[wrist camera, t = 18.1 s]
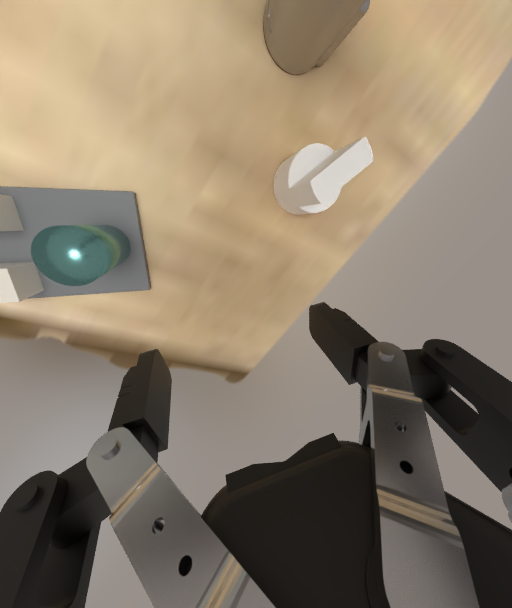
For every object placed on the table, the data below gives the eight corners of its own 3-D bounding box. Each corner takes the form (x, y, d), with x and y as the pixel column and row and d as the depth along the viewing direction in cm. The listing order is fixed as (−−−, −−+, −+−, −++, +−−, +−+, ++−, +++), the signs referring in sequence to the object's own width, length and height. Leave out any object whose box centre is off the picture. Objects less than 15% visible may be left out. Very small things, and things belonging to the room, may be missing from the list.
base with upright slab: (305, 143, 36) (357, 107, 25) (329, 193, 40) (382, 182, 29) (263, 177, 36) (296, 157, 25) (290, 225, 39) (329, 225, 29)
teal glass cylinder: (126, 224, 31) (96, 225, 20) (134, 263, 33) (110, 283, 22) (79, 224, 29) (20, 225, 19) (91, 266, 31) (43, 288, 21)
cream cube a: (34, 261, 30) (6, 268, 25) (44, 290, 31) (19, 301, 26) (-4, 263, 28) (-40, 270, 24) (8, 292, 30) (-24, 304, 25)
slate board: (135, 193, 31) (132, 191, 30) (151, 287, 36) (149, 289, 35) (-40, 186, 26) (-52, 184, 25) (5, 297, 31) (-3, 300, 30)
